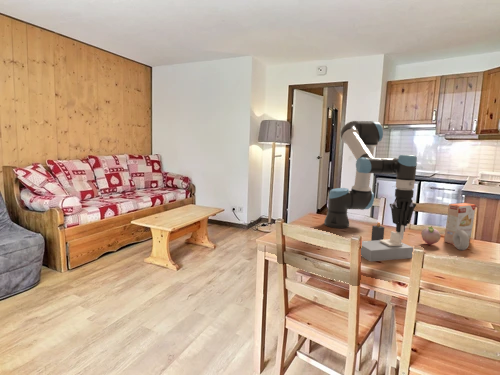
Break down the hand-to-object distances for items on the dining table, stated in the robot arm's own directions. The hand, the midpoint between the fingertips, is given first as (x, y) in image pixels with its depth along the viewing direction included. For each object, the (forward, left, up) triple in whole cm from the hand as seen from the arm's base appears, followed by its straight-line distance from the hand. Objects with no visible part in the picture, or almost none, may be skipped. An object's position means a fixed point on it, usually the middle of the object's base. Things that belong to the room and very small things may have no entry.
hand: (399, 238), depth 140 cm
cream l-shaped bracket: (0, -5, -2) cm, 5 cm away
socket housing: (0, -9, -7) cm, 11 cm away
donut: (+1, +35, -8) cm, 36 cm away
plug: (-12, -3, -7) cm, 14 cm away
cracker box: (-9, +45, -8) cm, 47 cm away
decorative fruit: (-8, +26, -8) cm, 29 cm away
